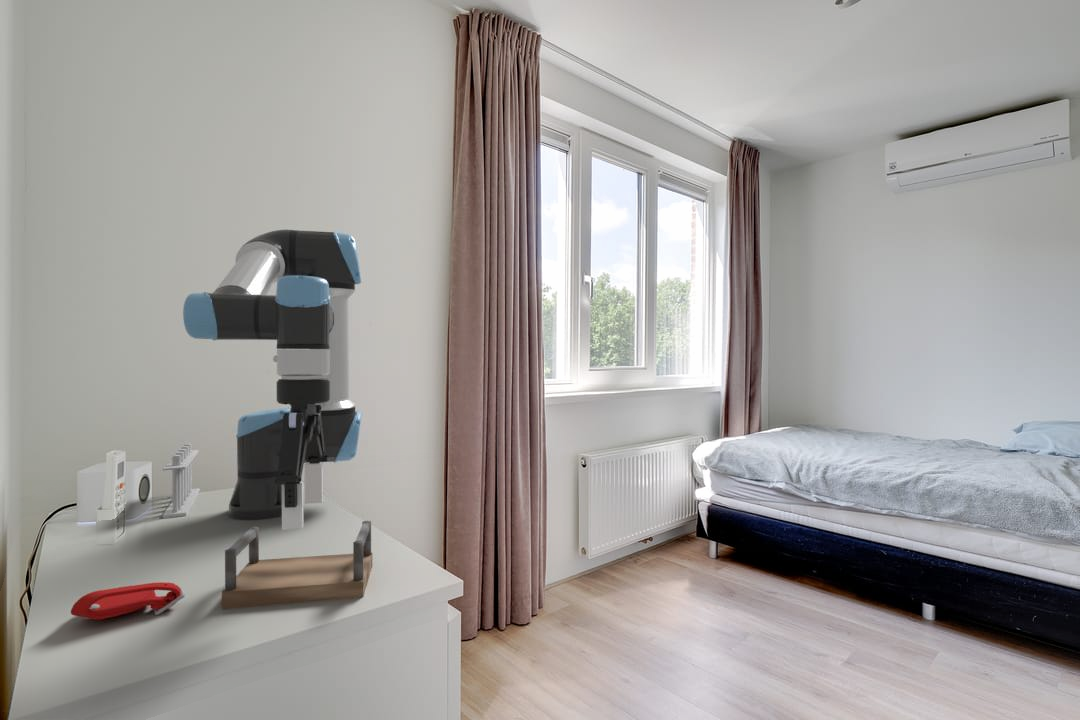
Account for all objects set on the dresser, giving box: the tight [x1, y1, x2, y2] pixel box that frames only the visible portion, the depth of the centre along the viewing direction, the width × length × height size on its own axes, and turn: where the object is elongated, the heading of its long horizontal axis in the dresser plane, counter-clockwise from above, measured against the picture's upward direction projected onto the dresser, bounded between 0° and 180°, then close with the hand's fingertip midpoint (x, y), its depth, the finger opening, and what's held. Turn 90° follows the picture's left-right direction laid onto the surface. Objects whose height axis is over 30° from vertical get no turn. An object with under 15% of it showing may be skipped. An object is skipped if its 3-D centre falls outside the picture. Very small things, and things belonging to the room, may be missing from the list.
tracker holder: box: [70, 581, 186, 621], centre depth 75 cm, size 12×4×10 cm
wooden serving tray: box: [221, 520, 373, 610], centre depth 84 cm, size 12×19×8 cm, turn 101°
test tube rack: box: [162, 443, 200, 519], centre depth 131 cm, size 25×4×13 cm, turn 26°
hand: (304, 514), depth 84 cm, fingers open, 13 cm apart
